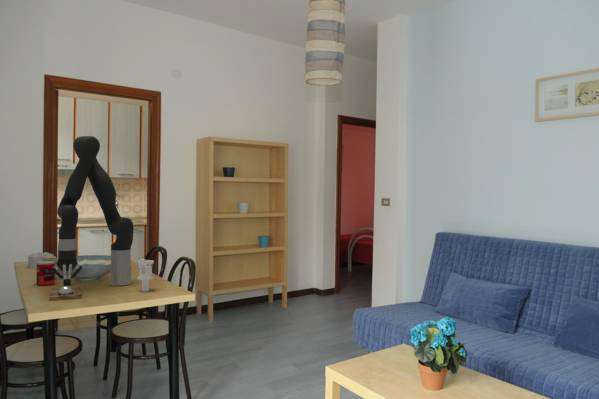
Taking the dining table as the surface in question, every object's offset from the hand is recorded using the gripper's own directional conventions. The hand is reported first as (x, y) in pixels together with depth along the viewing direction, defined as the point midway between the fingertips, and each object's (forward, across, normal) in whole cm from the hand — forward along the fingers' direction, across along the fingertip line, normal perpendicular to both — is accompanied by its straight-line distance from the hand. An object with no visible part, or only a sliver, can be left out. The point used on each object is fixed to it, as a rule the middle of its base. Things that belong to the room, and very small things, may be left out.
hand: (67, 287), depth 207 cm
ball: (0, +1, +10) cm, 10 cm away
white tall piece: (+3, -32, +10) cm, 34 cm away
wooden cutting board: (+2, +1, +5) cm, 5 cm away
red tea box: (+3, +7, -36) cm, 37 cm away
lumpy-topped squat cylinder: (+3, +12, -82) cm, 83 cm away
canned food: (+3, +9, -24) cm, 25 cm away
